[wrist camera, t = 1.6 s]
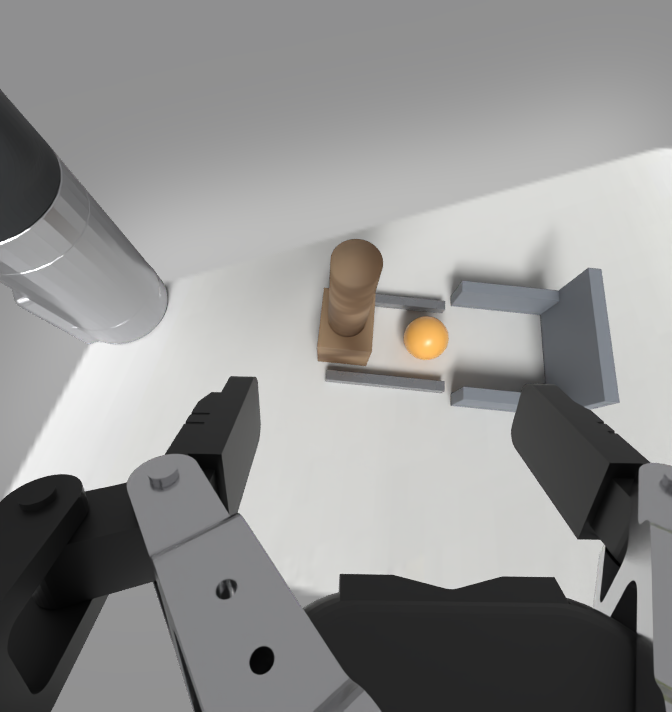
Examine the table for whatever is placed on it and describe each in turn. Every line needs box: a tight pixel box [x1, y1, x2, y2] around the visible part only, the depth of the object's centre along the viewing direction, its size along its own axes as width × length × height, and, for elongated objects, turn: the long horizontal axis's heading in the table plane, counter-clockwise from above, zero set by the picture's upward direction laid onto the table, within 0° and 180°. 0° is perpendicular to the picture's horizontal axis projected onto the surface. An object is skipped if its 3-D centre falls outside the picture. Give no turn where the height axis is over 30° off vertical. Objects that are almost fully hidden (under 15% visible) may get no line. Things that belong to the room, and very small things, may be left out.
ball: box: [404, 316, 449, 360], centre depth 38 cm, size 4×4×4 cm
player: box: [317, 239, 383, 366], centre depth 32 cm, size 5×6×15 cm
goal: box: [451, 268, 620, 412], centre depth 36 cm, size 11×12×8 cm
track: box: [325, 294, 445, 393], centre depth 39 cm, size 12×10×1 cm
